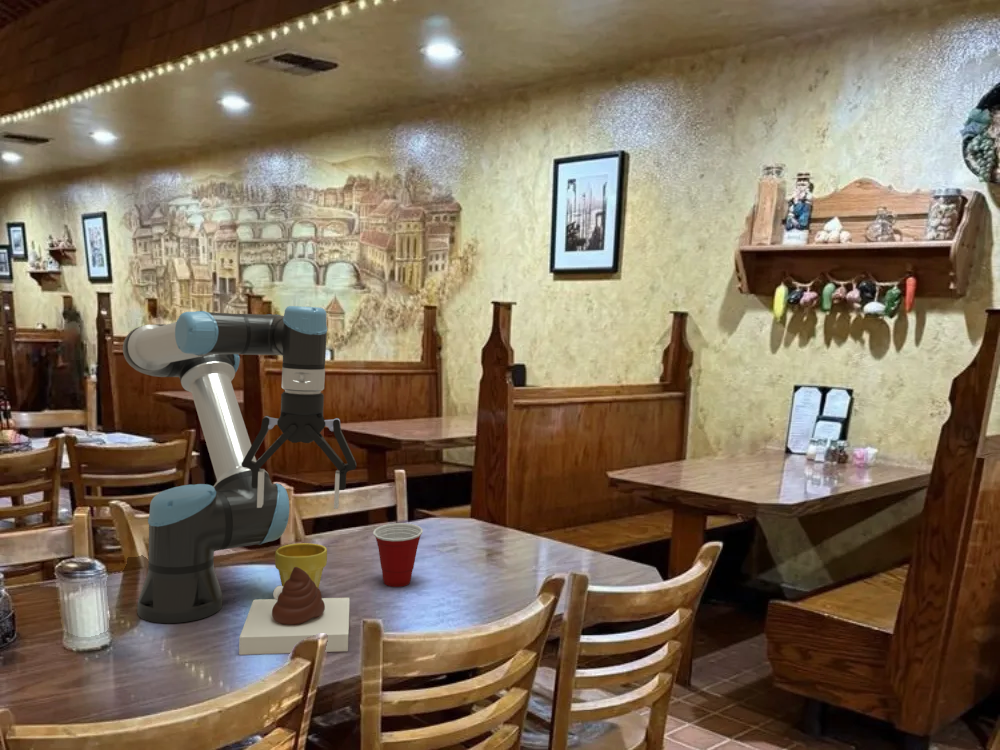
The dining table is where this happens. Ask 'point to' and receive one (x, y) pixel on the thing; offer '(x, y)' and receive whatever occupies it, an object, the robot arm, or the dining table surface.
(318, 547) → the plant pot
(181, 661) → the dining table surface
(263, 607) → the base board
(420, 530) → the plastic cup
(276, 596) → the poop emoji
